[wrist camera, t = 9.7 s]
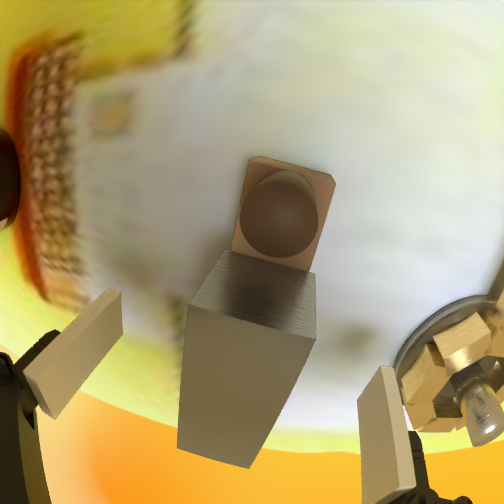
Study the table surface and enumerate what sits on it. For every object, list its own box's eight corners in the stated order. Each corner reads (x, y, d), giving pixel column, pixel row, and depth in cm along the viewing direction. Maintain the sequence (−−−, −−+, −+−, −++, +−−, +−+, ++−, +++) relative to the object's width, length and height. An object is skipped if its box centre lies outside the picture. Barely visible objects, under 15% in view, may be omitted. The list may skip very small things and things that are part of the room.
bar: (262, 409, 17) (248, 468, 13) (200, 391, 17) (176, 447, 13) (315, 273, 13) (315, 339, 9) (225, 249, 13) (188, 303, 9)
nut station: (368, 397, 18) (376, 480, 12) (438, 279, 14) (493, 361, 8) (464, 406, 18) (485, 470, 11) (532, 309, 13) (579, 369, 7)
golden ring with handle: (379, 407, 17) (384, 444, 14) (495, 186, 11) (533, 203, 8) (468, 413, 16) (478, 442, 13) (572, 238, 10) (601, 258, 7)
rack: (209, 392, 21) (186, 450, 16) (258, 156, 14) (230, 169, 9) (253, 405, 20) (239, 465, 15) (330, 175, 13) (345, 199, 8)
